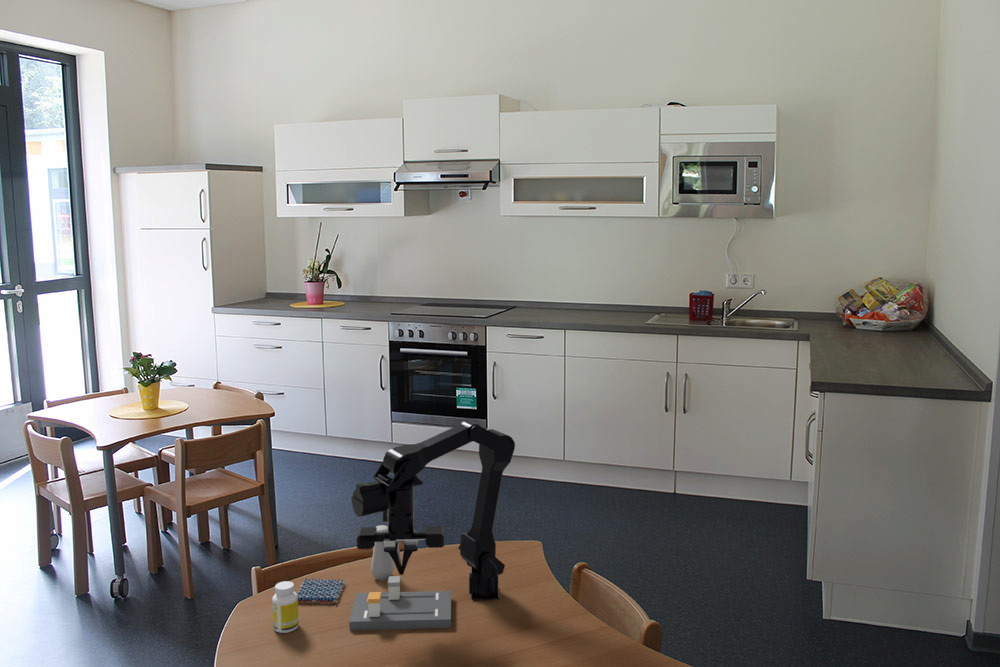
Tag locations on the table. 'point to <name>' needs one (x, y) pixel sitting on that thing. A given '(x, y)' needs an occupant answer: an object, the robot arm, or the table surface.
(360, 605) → the console
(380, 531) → the salt shaker
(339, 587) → the woven mat
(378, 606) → the orange fader
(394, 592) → the grey fader
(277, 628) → the supplement bottle
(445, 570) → the table surface
